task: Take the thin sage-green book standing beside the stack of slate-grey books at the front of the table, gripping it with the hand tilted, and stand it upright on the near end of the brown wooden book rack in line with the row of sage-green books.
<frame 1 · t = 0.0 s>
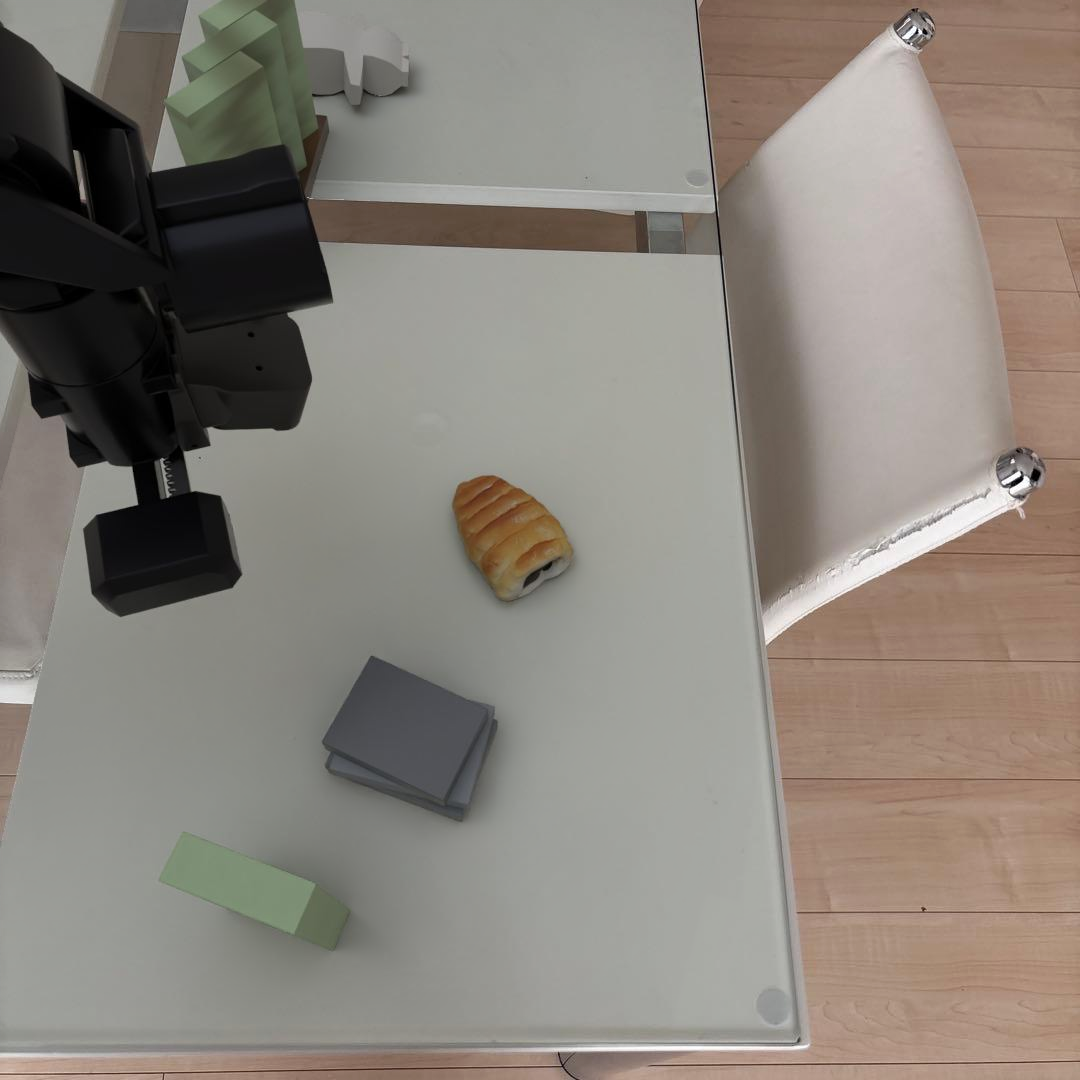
hand: (188, 505, 54), 12 cm above the table, tool pointing down, fingers open, 9 cm apart
pastry: (508, 548, 68), on the table
white curved block: (328, 81, 88), on the table
grey books: (414, 749, 61), on the table
green book: (287, 908, 57), on the table
brown wooden book rack: (253, 248, 79), on the table
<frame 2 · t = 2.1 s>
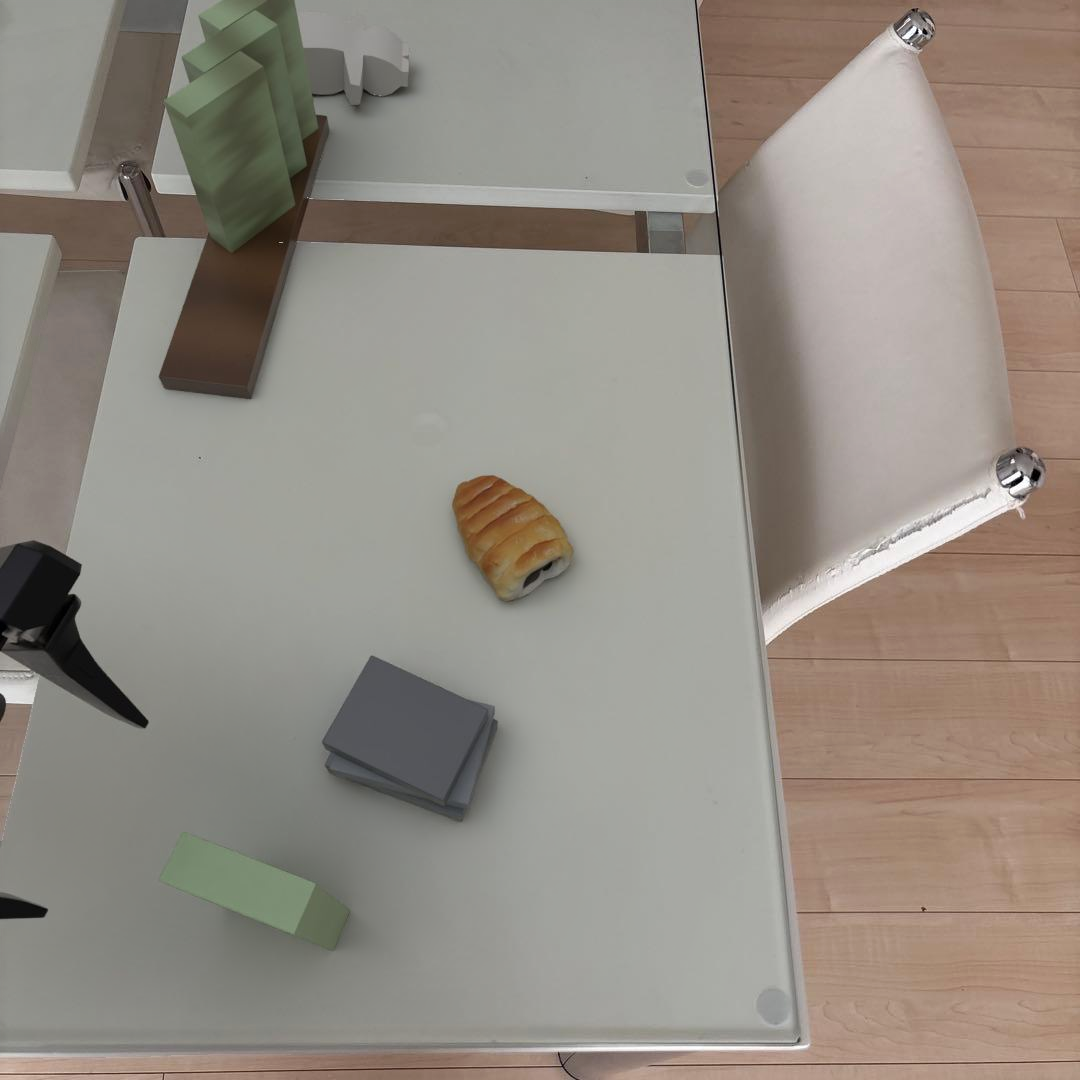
hand: (96, 814, 46), 13 cm above the table, tool tilted 45°, fingers open, 9 cm apart
nothing on the table moved.
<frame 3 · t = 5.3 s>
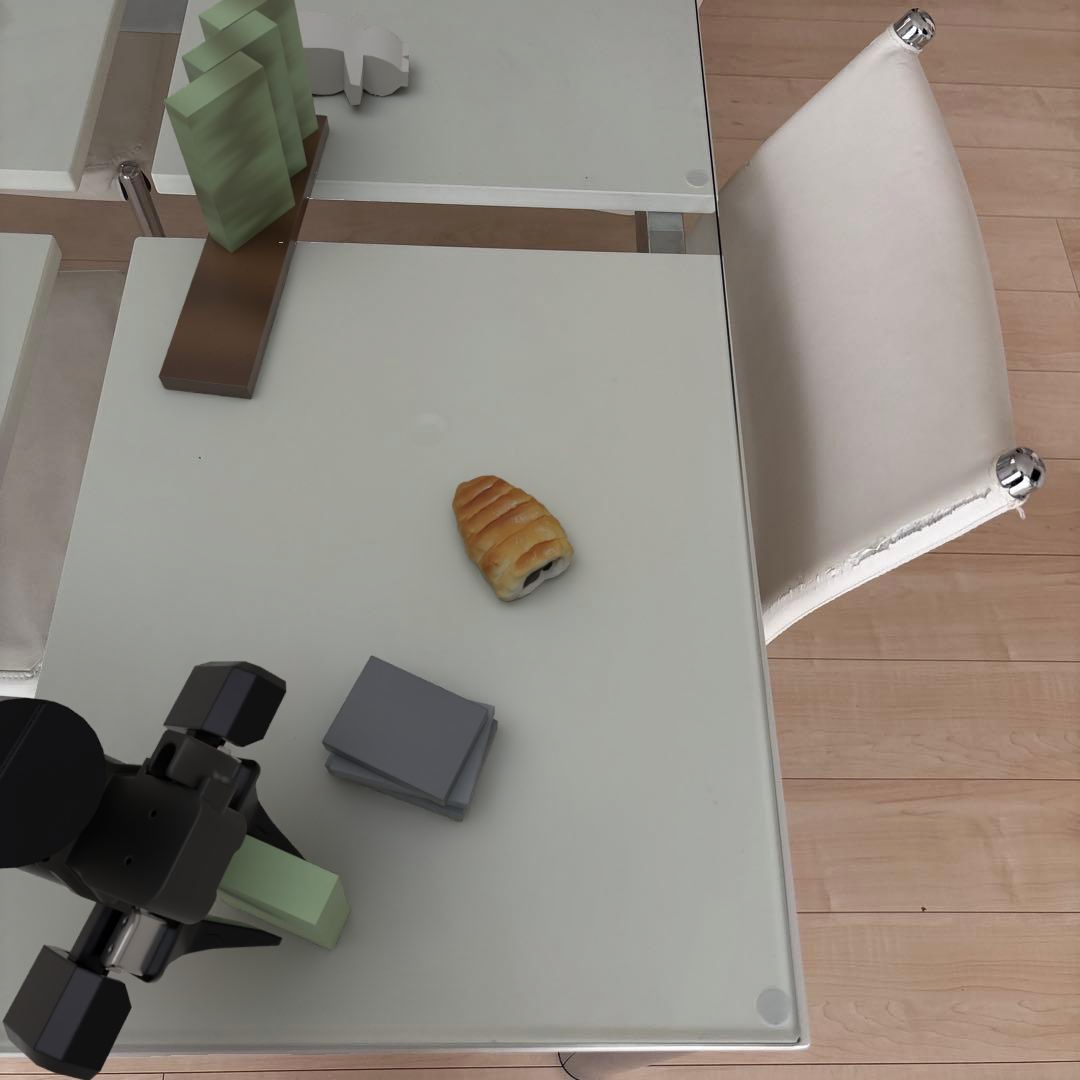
hand: (292, 905, 50), 7 cm above the table, tool tilted 45°, fingers closed on green book, 3 cm apart
green book: (288, 906, 57), on the table, touching gripper
everything else where it was.
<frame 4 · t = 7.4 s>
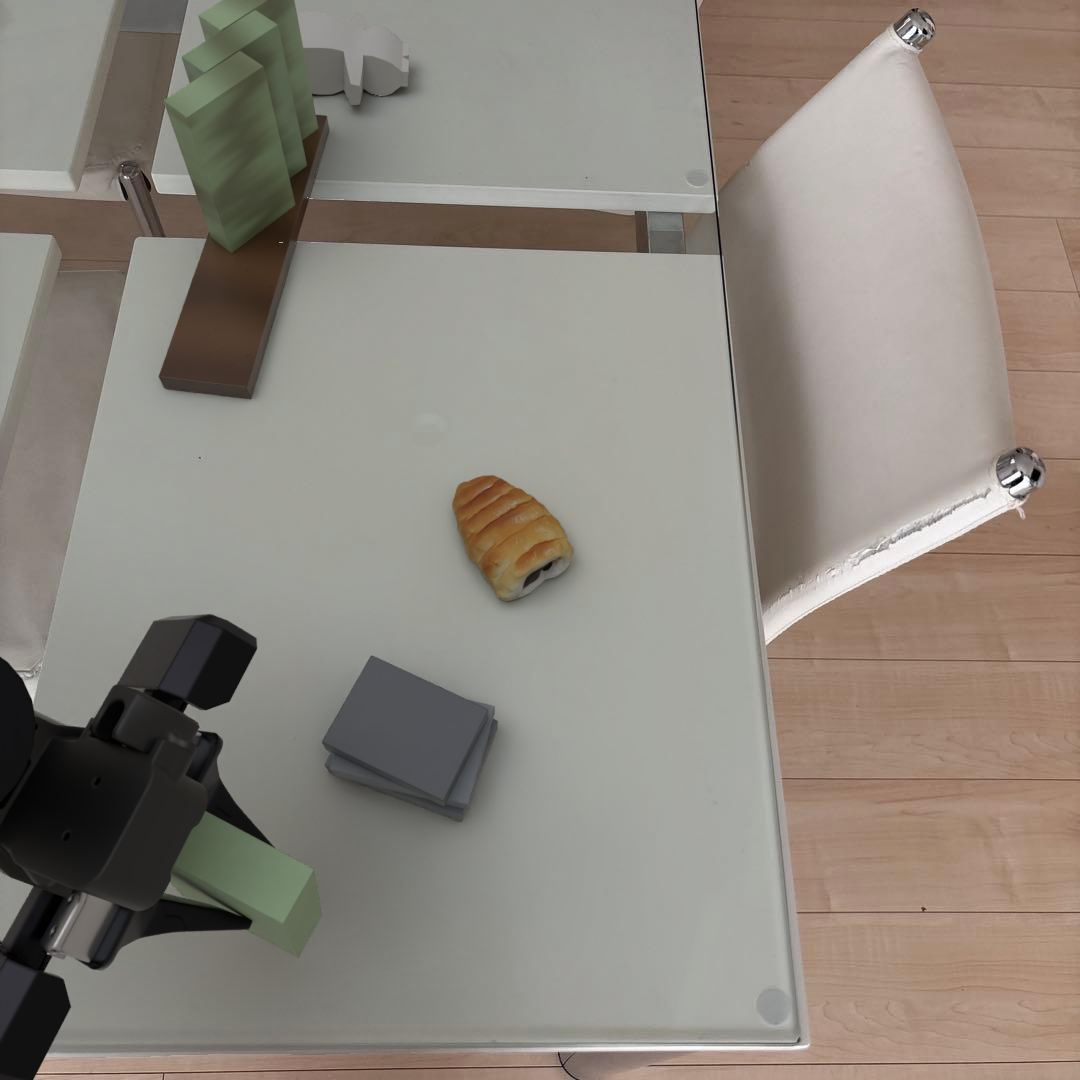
hand: (262, 891, 45), 13 cm above the table, tool tilted 45°, fingers closed on green book, 3 cm apart
green book: (252, 905, 51), point 6 cm above the table, tilted 7°, touching gripper
everything else where it was.
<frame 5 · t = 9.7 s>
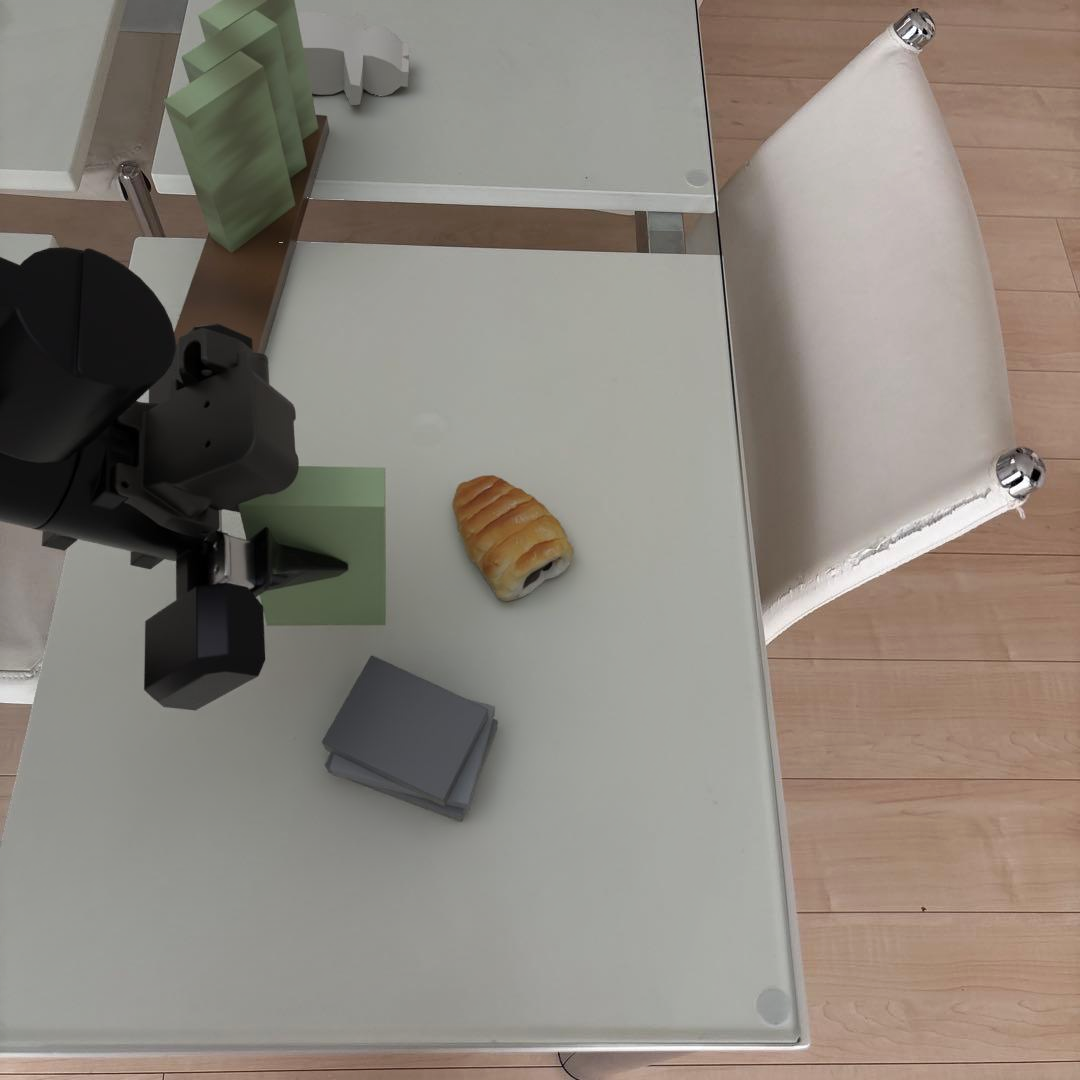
hand: (341, 546, 53), 13 cm above the table, tool tilted 45°, fingers closed on green book, 3 cm apart
green book: (327, 608, 58), point 6 cm above the table, tilted 7°, touching gripper
everything else where it was.
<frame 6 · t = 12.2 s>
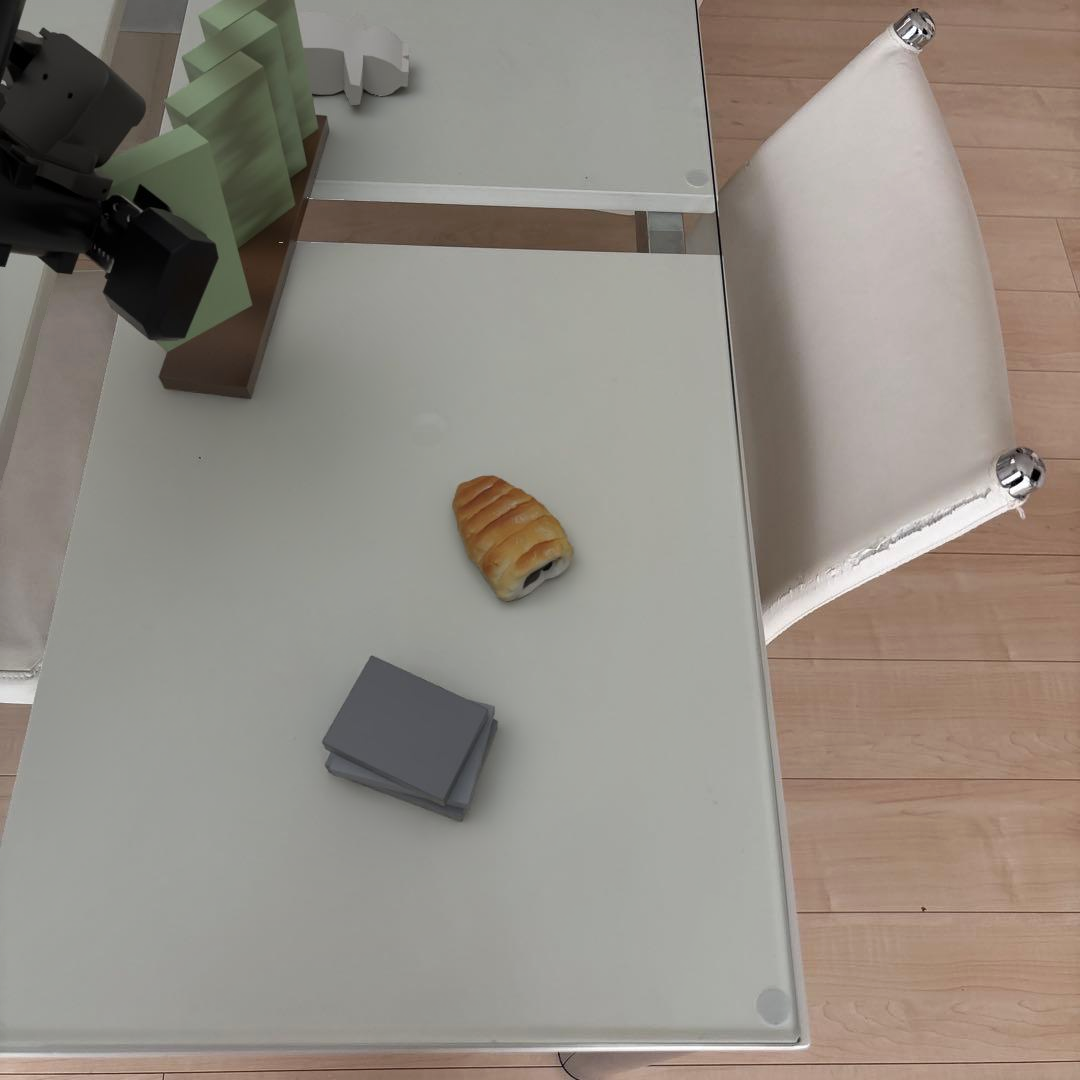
hand: (187, 229, 62), 13 cm above the table, tool tilted 45°, fingers closed on green book, 3 cm apart
green book: (200, 319, 67), point 6 cm above the table, tilted 7°, touching gripper
everything else where it was.
when the fingers open (9 cm above the table, at t = 14.2 s): green book stays where it is, resting on brown wooden book rack.
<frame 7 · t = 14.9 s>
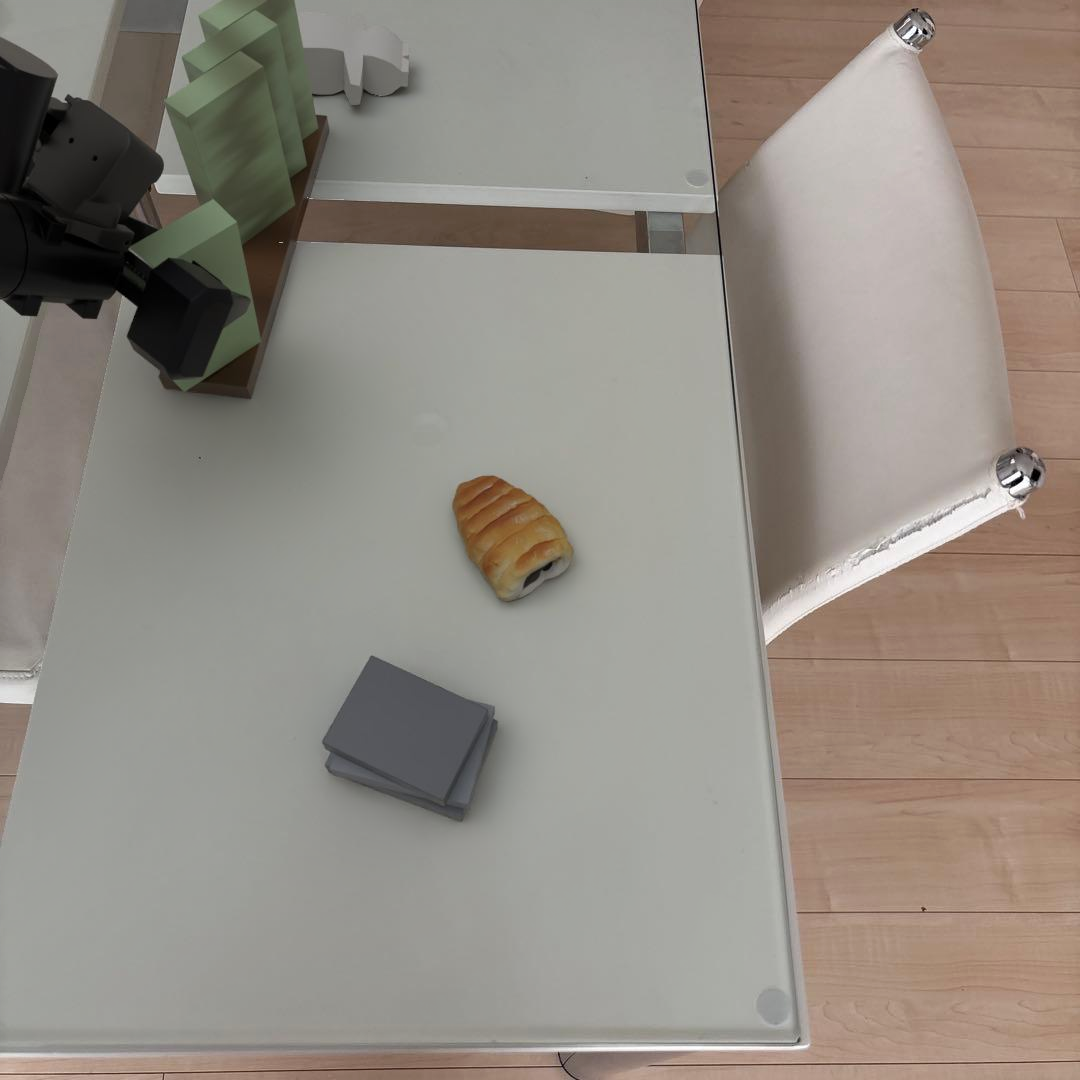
hand: (200, 269, 66), 9 cm above the table, tool tilted 45°, fingers open, 9 cm apart
green book: (213, 356, 72), point 2 cm above the table, tilted 6°, touching brown wooden book rack
everything else where it was.
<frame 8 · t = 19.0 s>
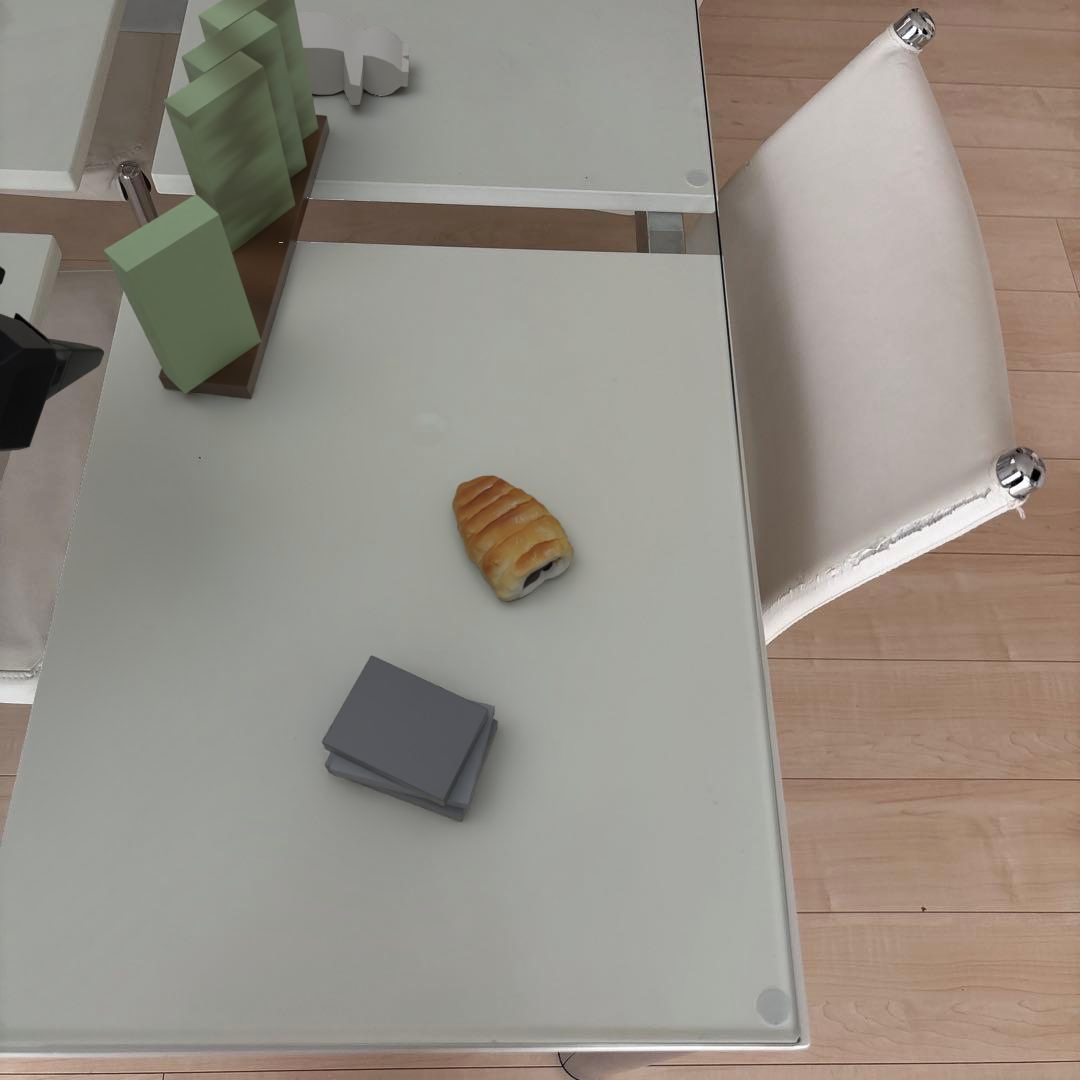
hand: (50, 315, 58), 14 cm above the table, tool tilted 45°, fingers open, 9 cm apart
green book: (213, 358, 72), point 1 cm above the table, touching brown wooden book rack
everything else where it was.
at the end: green book 0.8 cm from the target spot on the brown wooden book rack, point 1.5 cm above the brown wooden book rack's base; green book tilted 0°; the gripper is holding nothing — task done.
